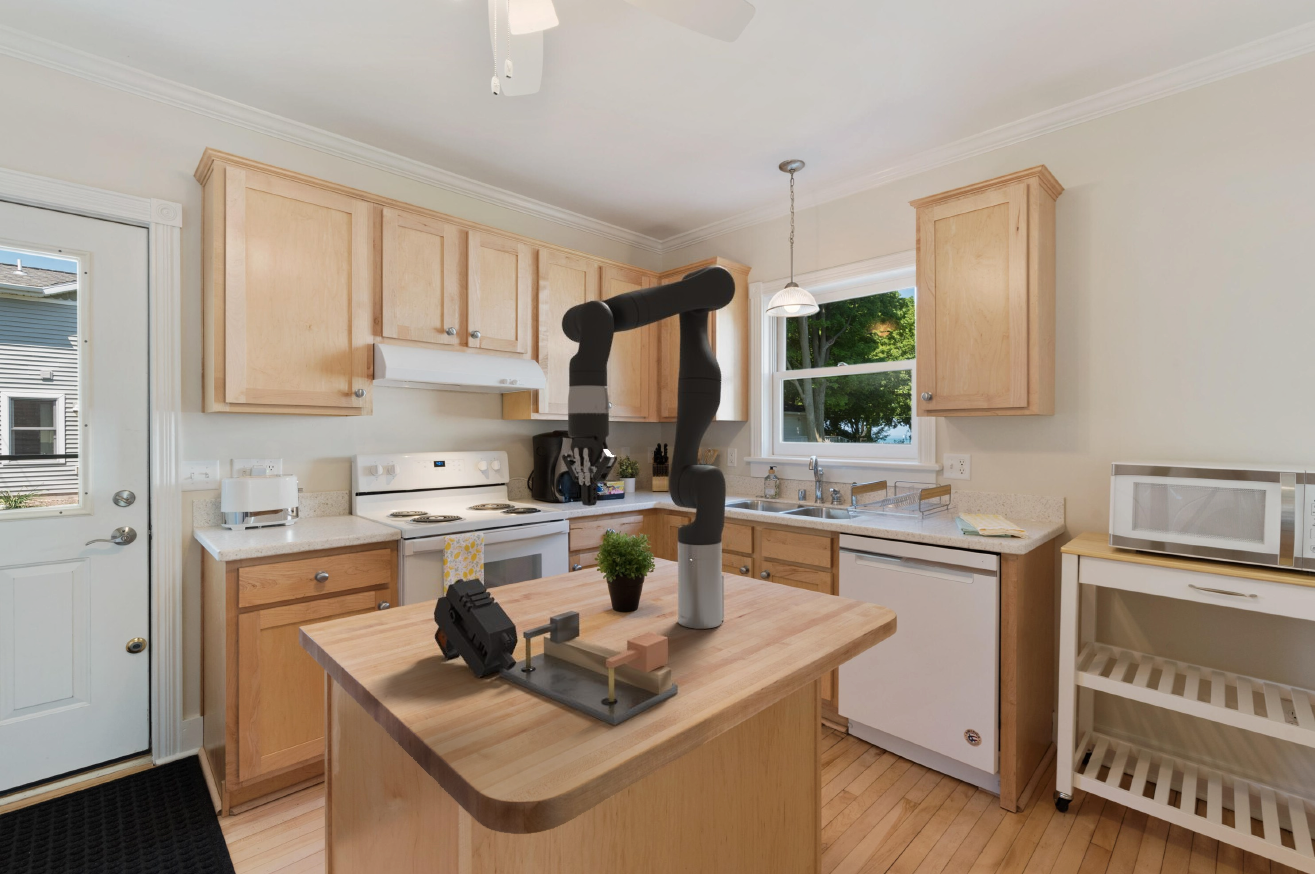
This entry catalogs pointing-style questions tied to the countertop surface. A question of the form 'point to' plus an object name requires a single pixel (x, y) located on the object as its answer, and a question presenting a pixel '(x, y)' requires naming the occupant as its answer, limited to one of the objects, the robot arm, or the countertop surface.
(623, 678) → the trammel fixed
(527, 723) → the countertop surface
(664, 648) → the slider leg
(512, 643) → the tool
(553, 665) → the hole plate
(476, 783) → the countertop surface
